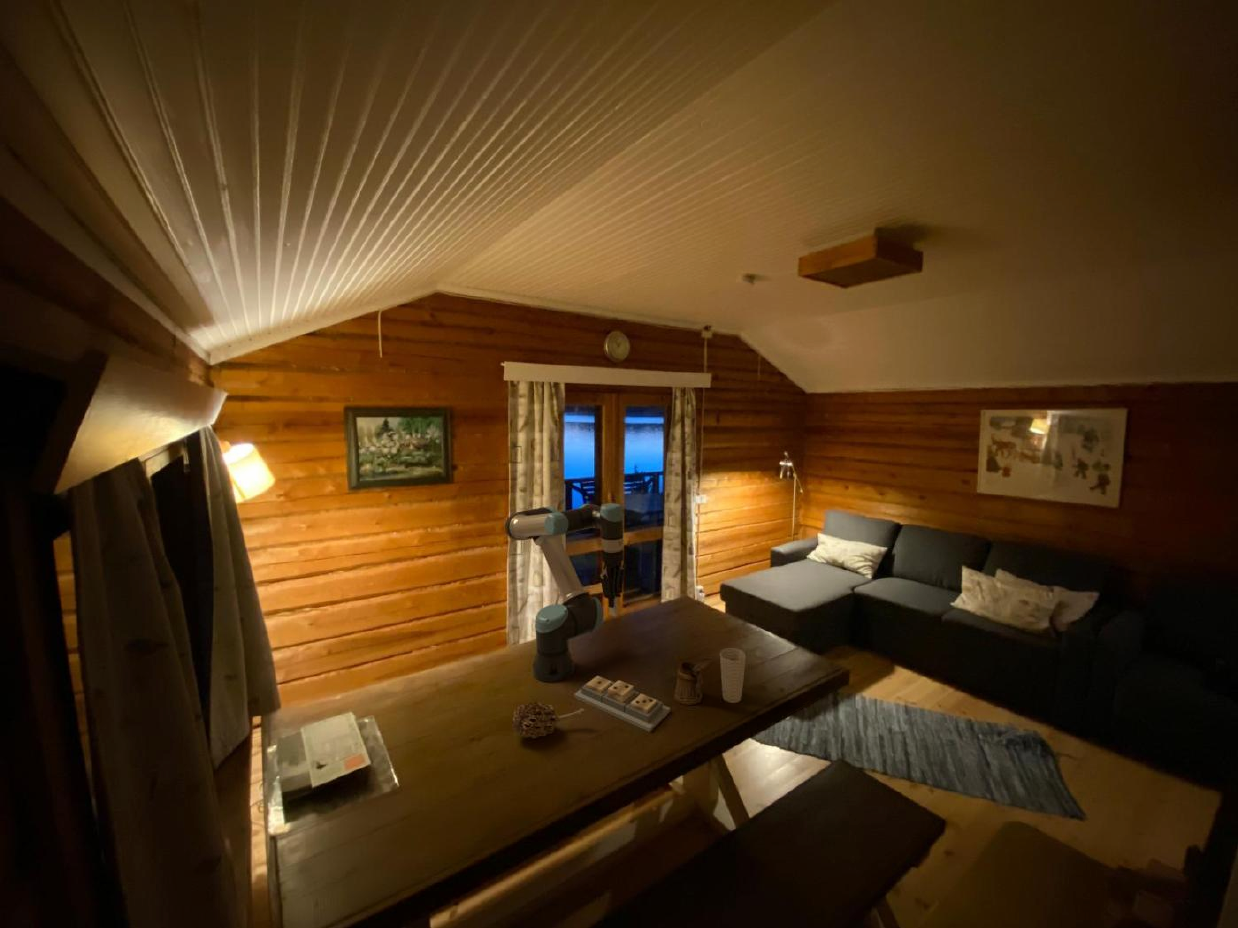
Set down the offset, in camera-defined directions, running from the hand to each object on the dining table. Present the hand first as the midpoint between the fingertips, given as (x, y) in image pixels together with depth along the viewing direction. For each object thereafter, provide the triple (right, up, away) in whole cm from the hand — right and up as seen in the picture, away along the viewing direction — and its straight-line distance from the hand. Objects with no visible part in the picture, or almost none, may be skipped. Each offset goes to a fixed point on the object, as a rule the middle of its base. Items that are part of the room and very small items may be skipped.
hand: (613, 614), depth 177 cm
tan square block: (-5, -24, -5) cm, 25 cm away
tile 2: (+2, -23, -11) cm, 26 cm away
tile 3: (+10, -26, -16) cm, 31 cm away
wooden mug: (+26, -26, -9) cm, 38 cm away
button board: (+3, -26, -10) cm, 28 cm away
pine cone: (-19, -29, -23) cm, 41 cm away
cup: (+39, -25, -7) cm, 47 cm away
